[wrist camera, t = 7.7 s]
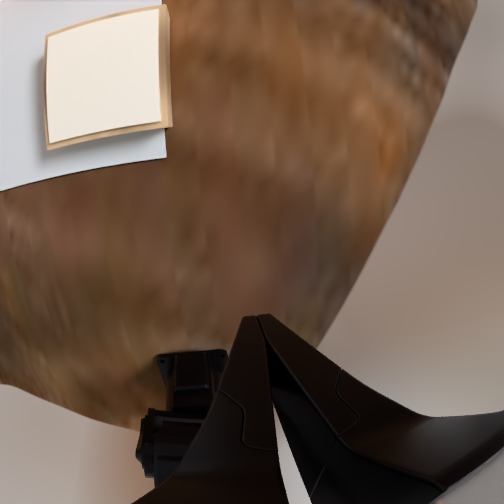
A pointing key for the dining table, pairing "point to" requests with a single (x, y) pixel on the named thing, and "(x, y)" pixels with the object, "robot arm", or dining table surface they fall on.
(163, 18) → the tile
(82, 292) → the dining table surface
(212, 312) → the dining table surface
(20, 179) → the mat
